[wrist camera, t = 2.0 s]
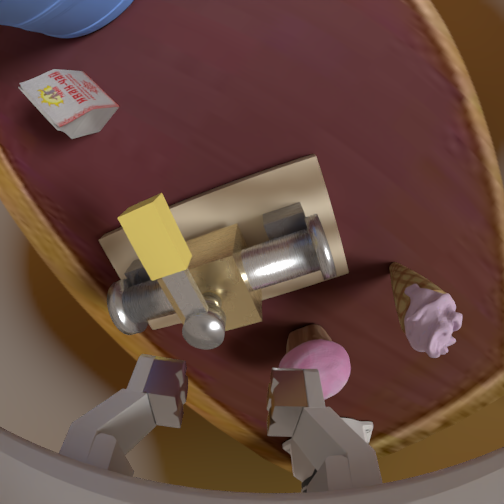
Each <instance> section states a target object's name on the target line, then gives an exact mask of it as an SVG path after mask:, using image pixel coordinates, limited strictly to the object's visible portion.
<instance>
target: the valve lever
mask: <svg viewBox="0 0 504 504" xmlns="http://www.w3.org/2000/svg"><path fill="white" fill-rule="evenodd" d="M118 220H119V222H120V224H121V226H122V227H123V229H124V231H125V233H126V235H127V237H128V239H129V241H130V243H131V244H132V246H133V248H134V250H135V252H136V254H137V256H138V257H139V259H140V261H141V263H142V265H143V266H144V268H145V270H146V272H147V273H148V275H149V277H150V279H151V280H152V281H153V280H156V279H159V278H162V279H163V281H164V282H165V284H166V286H167V288H168V289H169V291H170V293H171V295H172V296H173V298H174V300H175V301H176V303H177V305H178V307H179V308H180V310H181V312H182V313H183V315H184V317H185V318H186V319H185V322H184V326H183V329H182V333H183V337H184V338H185V340H186V341H187V342H188V343H189V344H190V345H192V346H194V347H196V348H199V349H213V348H216V347H218V346H219V345H220V344H221V343H222V342H223V340H224V334H225V326H226V315H225V313H224V311H223V310H222V309H221V308H220V307H219V306H217V305H215V304H212V303H209V302H206V301H205V299H204V298H203V296H202V294H201V292H200V290H199V288H198V286H197V285H196V283H195V281H194V279H193V277H192V275H191V273H190V271H189V269H188V265H189V262H190V260H191V257H192V254H191V252H190V250H189V248H188V246H187V244H186V242H185V240H184V238H183V236H182V234H181V232H180V230H179V228H178V226H177V223H176V221H175V219H174V217H173V215H172V213H171V211H170V209H169V207H168V205H167V202H166V200H165V198H164V196H163V194H162V193H161V194H158V195H156V196H154V197H151V198H149V199H147V200H145V201H142V202H140V203H138V204H136V205H134V206H131V207H129V208H128V209H127V210H126V211H124V212H123V213H122V214H121V215H120V216H119V217H118Z"/></svg>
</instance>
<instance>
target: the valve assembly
mask: <svg viewBox="0 0 504 504" xmlns="http://www.w3.org/2000/svg"><path fill="white" fill-rule="evenodd" d="M169 209H170V211H171V213H172V215H173V217H174V219H175V221H176V223H177V226H178V228H179V230H180V232H181V234H182V236H183V238H184V240H185V242H186V244H187V246H188V248H189V250H190V252H191V254H192V257H191V260H190V262H189V265H188V269H189V271H190V273H191V275H192V277H193V279H194V281H195V283H196V285H197V286H198V288H199V290H200V292H201V294H202V296H203V298H204V299H205V301H206V302H209V303H212V304H215V305H217V306H219V307H220V308H221V309H222V310H223V311H224V313H225V315H226V326H225V331H227V330H231V329H235V328H239V327H242V326H246V325H250V324H254V323H257V322H261V321H262V300H264V299H268V298H271V297H275V296H278V295H281V294H284V293H288V292H291V291H294V290H297V289H301V288H304V287H307V286H310V285H313V284H317V283H320V282H323V281H326V280H329V279H332V278H335V277H338V276H341V275H344V274H347V273H349V271H348V267H347V263H346V259H345V255H344V251H343V247H342V243H341V239H340V235H339V232H338V228H337V224H336V221H335V217H334V213H333V210H332V206H331V203H330V199H329V196H328V193H327V189H326V186H325V183H324V179H323V176H322V173H321V170H320V166H319V163H318V160H317V157H316V156H315V155H314V154H312V155H308V156H305V157H302V158H299V159H296V160H293V161H290V162H287V163H284V164H281V165H278V166H275V167H272V168H269V169H266V170H264V171H261V172H258V173H255V174H252V175H249V176H247V177H244V178H241V179H238V180H236V181H233V182H230V183H227V184H225V185H222V186H219V187H217V188H214V189H211V190H209V191H206V192H204V193H201V194H199V195H196V196H193V197H191V198H188V199H186V200H183V201H181V202H178V203H176V204H174V205H171V206H169ZM99 242H100V244H101V246H102V248H103V250H104V251H105V253H106V255H107V257H108V258H109V260H110V262H111V264H112V265H113V267H114V269H115V271H116V272H117V274H118V276H119V277H120V279H121V280H120V281H117V282H114V283H113V284H112V285H111V286H110V288H109V290H108V294H107V305H108V310H109V314H110V316H111V319H112V321H113V322H114V324H115V326H116V327H117V328H118V329H119V330H120V331H121V332H123V333H124V334H127V335H132V334H136V333H140V332H143V331H144V330H145V329H146V327H147V324H148V323H149V325H150V326H151V328H152V329H153V330H155V329H159V328H163V327H167V326H170V325H174V324H178V323H183V325H184V322H185V319H186V318H185V317H184V315H183V313H182V312H181V310H180V308H179V307H178V305H177V303H176V301H175V300H174V298H173V296H172V295H171V293H170V291H169V289H168V288H167V286H166V284H165V282H164V281H163V279H162V278H159V279H156V280H153V281H152V280H151V279H150V277H149V275H148V273H147V272H146V270H145V268H144V266H143V265H142V263H141V261H140V259H139V257H138V256H137V254H136V252H135V250H134V248H133V246H132V244H131V243H130V241H129V239H128V237H127V235H126V233H125V231H124V229H123V227H120V228H118V229H115V230H113V231H111V232H109V233H106V234H104V235H103V236H102V237H101V238H100V239H99Z"/></svg>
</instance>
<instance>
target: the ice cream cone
mask: <svg viewBox="0 0 504 504" xmlns="http://www.w3.org/2000/svg"><path fill="white" fill-rule="evenodd" d="M389 270H390V277H391V283H392V289H393V295H394V300H395V305H396V310H397V313H398V317H399V321H400V325H401V328H402V330H403V332H404V333H405V334H406V336H407V338H408V340H409V342H410V344H411V346H412V348H413V349H415V350H416V351H419V352H424V351H425V352H426V353H427V354H428V355H429V356H430V357H431V358H437V357H439V356H440V354H446V353H447V352H448V349H447V346H449V345H452V344H454V343H455V342H456V339H455V338H453V337H452V336H451V334H452V332H453V331H457V330H458V329H460V327H461V324H462V314H461V313H457V312H455V309H456V305H455V302H454V300H453V299H452V298H451V296H450V294H448V293H445V292H444V291H443V290H441V289H440V288H439V287H437V286H436V285H435V284H433V283H432V282H431V281H429V280H428V279H426V278H424V277H423V276H421V275H420V274H418V273H416V272H414V271H412V270H411V269H409V268H407V267H405V266H403V265H401V264H399V263H397V262H393V263H392V264H391V265H390V267H389Z"/></svg>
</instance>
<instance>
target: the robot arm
mask: <svg viewBox="0 0 504 504" xmlns="http://www.w3.org/2000/svg"><path fill="white" fill-rule="evenodd" d="M186 369H187V366H186V361H183V360H177V359H171V358H164V357H159V356H152V355H146V354H141V356H140V357H139V359H138V361H137V364H136V366H135V369H134V371H133V374H132V377H131V379H130V381H129V384H128V387H127V389H121V390H120V391H119V392H117V393H116V394H114V395H113V396H111V397H110V398H108V399H107V400H105V401H104V402H102V403H101V404H99V405H98V406H96V407H95V408H93V409H92V410H90V411H89V412H87V413H86V414H84V415H83V416H81V417H80V418H78V419H77V420H75V421H74V422H72V424H71V426H70V428H69V431H68V433H67V435H66V438H65V440H64V442H63V445H62V447H61V450H60V452H59V453H56V452H54V451H51V450H49V449H46V448H44V447H41V446H39V445H37V444H35V443H32V442H30V441H28V440H26V439H24V438H22V437H19V436H17V435H15V434H13V433H11V432H9V431H7V430H5V429H4V428H2V427H0V504H504V447H502V448H500V449H497V450H495V451H493V452H490V453H488V454H485V455H483V456H480V457H477V458H475V459H472V460H469V461H466V462H463V463H461V464H458V465H454V466H452V467H448V468H445V469H442V470H439V471H435V472H431V473H427V474H424V475H420V476H416V477H412V478H408V479H403V480H399V481H394V482H389V483H384V484H382V479H381V475H380V470H379V466H378V461H377V457H376V453H375V450H374V449H373V448H372V447H371V446H370V445H369V440H370V437H371V433H372V430H373V422H370V421H357V420H354V419H350V418H340V417H339V416H338V415H337V414H336V413H335V412H334V411H333V410H332V409H331V408H330V407H325V402H324V396H323V391H322V386H321V380H320V375H319V371H318V369H299V368H272V370H271V375H270V380H271V382H270V383H269V386H268V393H267V410H268V411H269V413H268V418H267V436H283V437H292V438H291V439H289V440H288V441H286V442H284V443H283V444H282V446H283V449H284V450H285V451H287V452H288V453H289V454H291V461H292V469H293V475H294V477H296V478H297V479H299V480H301V481H302V493H244V492H228V491H216V490H207V489H198V488H191V487H184V486H177V485H171V484H165V483H160V482H155V481H150V480H145V479H141V478H137V477H133V473H134V471H133V469H132V467H131V465H130V464H129V462H128V460H127V459H126V457H125V455H126V454H127V453H128V452H129V451H130V450H131V449H132V448H133V447H134V446H135V445H137V444H138V443H139V442H140V441H141V440H142V439H143V438H144V437H145V436H146V435H147V434H148V433H149V432H150V431H151V430H152V429H153V428H154V427H155V426H156V425H161V426H169V427H176V428H181V423H182V418H183V413H184V412H183V404H184V403H185V402H186V398H187V391H188V377H187V376H186V375H185V374H186Z"/></svg>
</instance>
